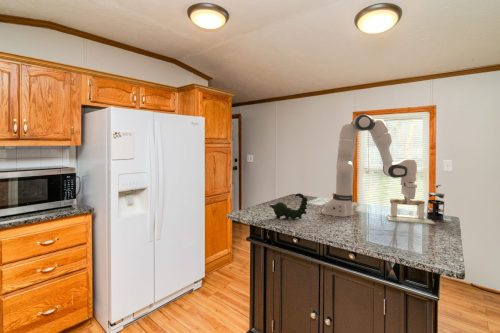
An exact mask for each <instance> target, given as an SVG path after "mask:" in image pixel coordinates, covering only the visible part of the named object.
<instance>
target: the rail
mask: <svg viewBox="0 0 500 333" xmlns="http://www.w3.org/2000/svg"><path fill="white" fill-rule="evenodd" d="M389 199H390V200H389V202H390V205H391V204H392V202H394V203H397V205H405V206H406V205H407V206H417V205H419V204H426V203H425V201H424V199H423V200H419V199H410V203H409V204H407V203H406V200H407V199H404V198H389Z"/></svg>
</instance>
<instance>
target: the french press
mask: <svg viewBox="0 0 500 333" xmlns="http://www.w3.org/2000/svg"><path fill="white" fill-rule="evenodd" d="M433 186H434V187H435V188H436V189H435V190H436V192H428V197H429V198H431V197H435V199H427V211H426V219H427V220H432V221H434V222H435V221H436V222H442V220H443V221H444V217H445V216H444V214H445V213H444V212H445V201H443V200H439V199H444V198H445V196H446V194H444V193H441V192H438V188H439V187H442V185H441V184H433ZM437 197H439V199H437ZM429 204H432V207H429ZM442 205H443V206H442ZM440 206H442V209H441V208H440ZM429 211H430V212H429ZM441 212H442V213H441Z"/></svg>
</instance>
